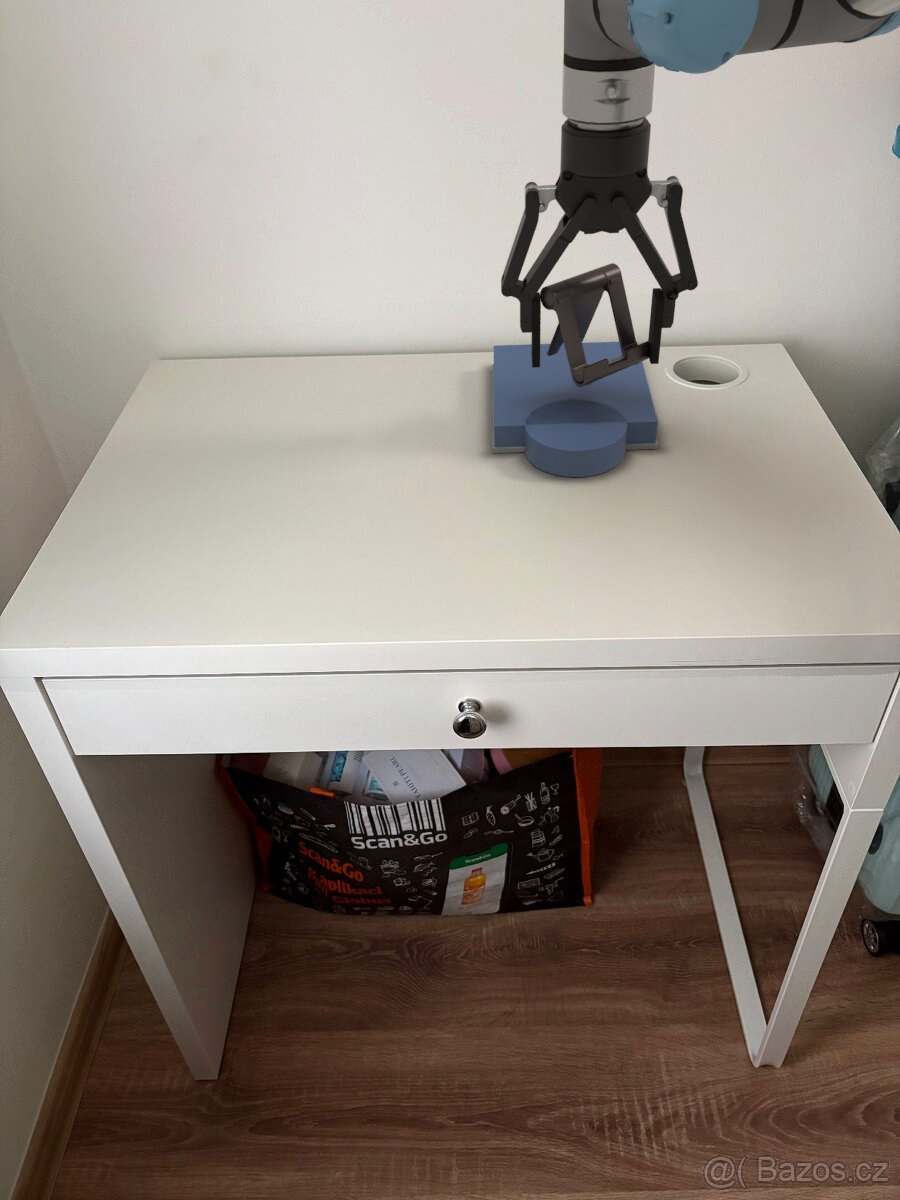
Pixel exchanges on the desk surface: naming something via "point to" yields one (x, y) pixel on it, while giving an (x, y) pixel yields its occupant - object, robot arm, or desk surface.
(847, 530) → the desk surface
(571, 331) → the tablet stand
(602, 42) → the robot arm
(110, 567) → the desk surface
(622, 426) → the blue square with disc
